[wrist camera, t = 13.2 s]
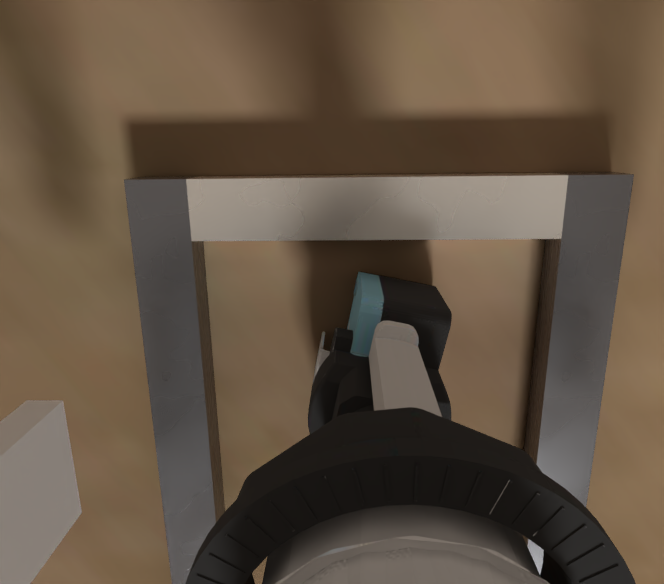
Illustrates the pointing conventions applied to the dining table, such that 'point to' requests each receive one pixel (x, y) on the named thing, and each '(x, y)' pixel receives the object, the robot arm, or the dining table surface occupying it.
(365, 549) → the push button
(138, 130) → the dining table surface
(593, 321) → the open rectangular frame
